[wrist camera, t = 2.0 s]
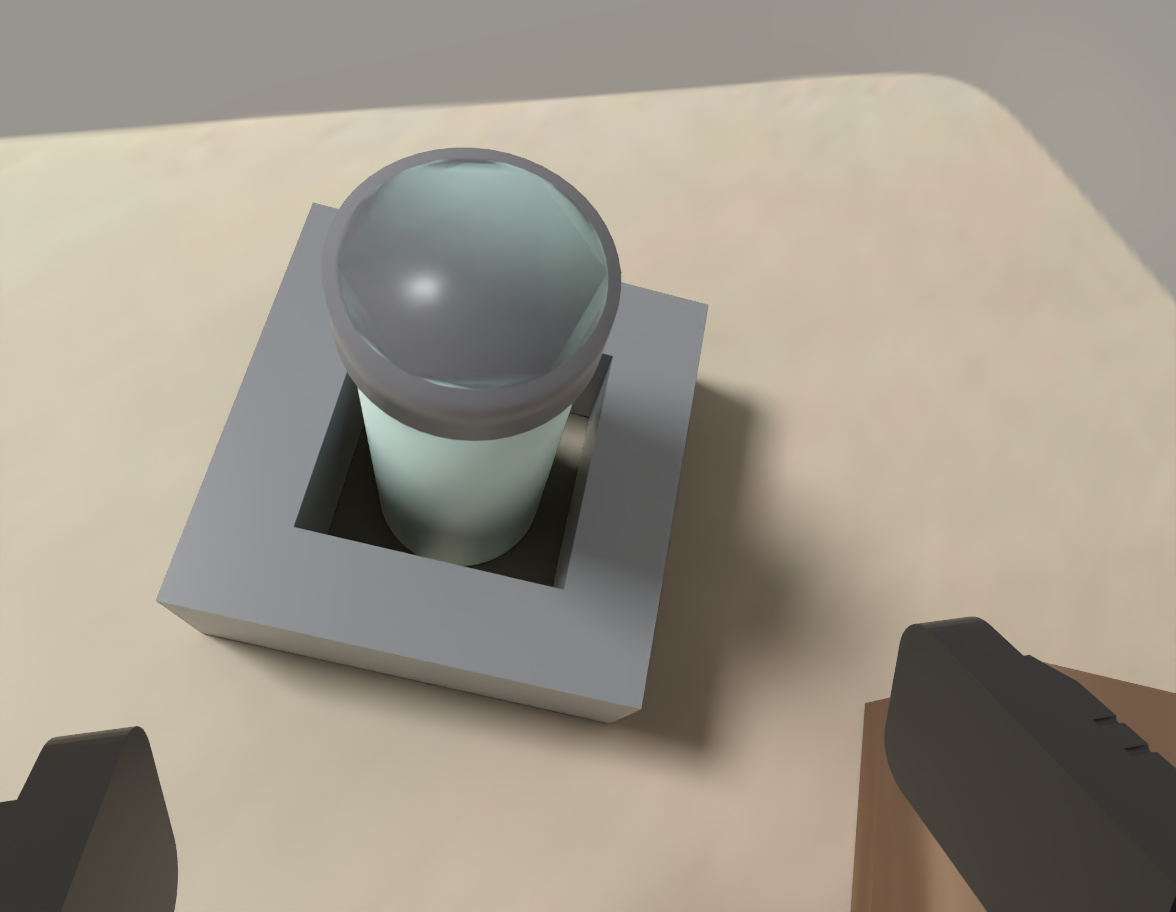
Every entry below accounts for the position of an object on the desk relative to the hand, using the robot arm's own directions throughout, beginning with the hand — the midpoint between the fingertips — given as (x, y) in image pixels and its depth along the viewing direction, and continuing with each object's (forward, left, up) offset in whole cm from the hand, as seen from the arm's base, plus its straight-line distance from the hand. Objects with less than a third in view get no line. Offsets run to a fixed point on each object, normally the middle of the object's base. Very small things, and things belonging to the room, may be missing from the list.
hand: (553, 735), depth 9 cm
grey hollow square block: (-2, +6, -11) cm, 13 cm away
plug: (-2, +6, -11) cm, 13 cm away
